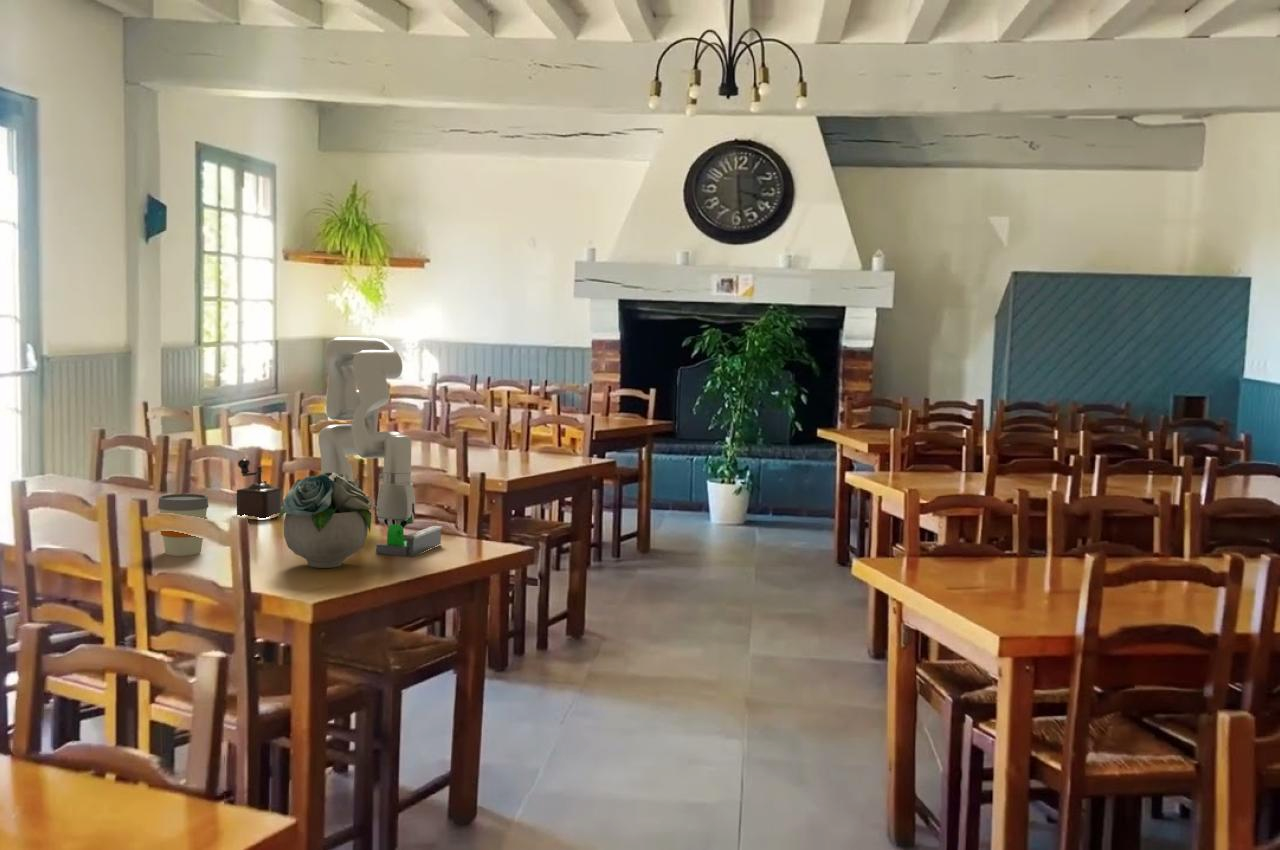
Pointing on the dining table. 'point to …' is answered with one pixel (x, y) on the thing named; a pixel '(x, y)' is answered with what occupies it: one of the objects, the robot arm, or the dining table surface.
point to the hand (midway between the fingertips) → (395, 542)
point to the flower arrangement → (326, 519)
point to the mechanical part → (396, 535)
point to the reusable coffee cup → (185, 506)
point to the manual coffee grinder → (257, 496)
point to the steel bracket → (414, 543)
